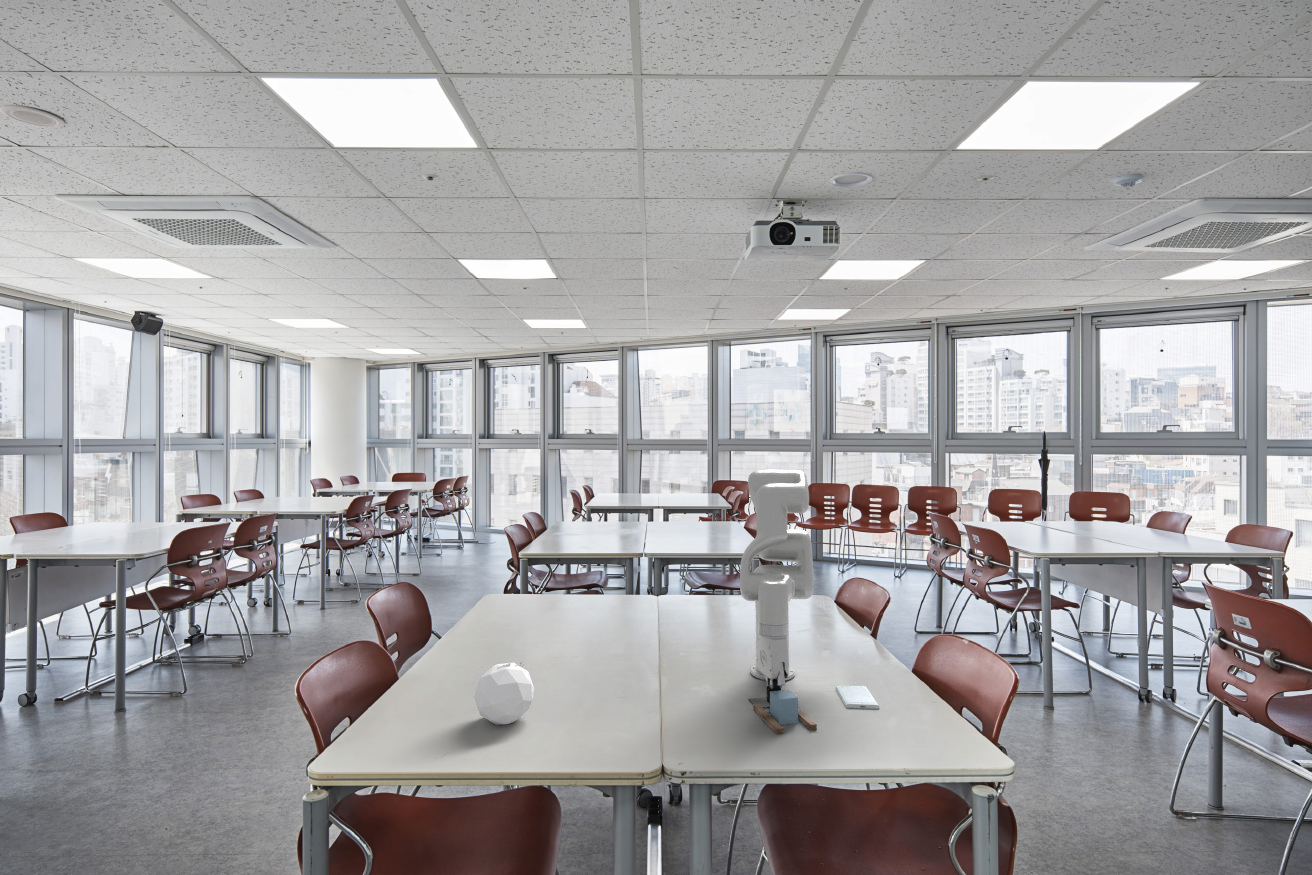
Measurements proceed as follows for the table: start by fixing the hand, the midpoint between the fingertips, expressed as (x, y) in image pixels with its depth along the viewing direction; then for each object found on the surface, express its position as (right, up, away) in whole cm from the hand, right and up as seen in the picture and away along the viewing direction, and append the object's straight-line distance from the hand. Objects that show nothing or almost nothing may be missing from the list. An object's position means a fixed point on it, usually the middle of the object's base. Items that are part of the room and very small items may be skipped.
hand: (773, 702), depth 154 cm
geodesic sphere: (-66, -2, -6) cm, 67 cm away
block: (+1, -2, -6) cm, 6 cm away
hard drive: (+23, -3, +7) cm, 24 cm away
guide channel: (+1, -2, -3) cm, 3 cm away
